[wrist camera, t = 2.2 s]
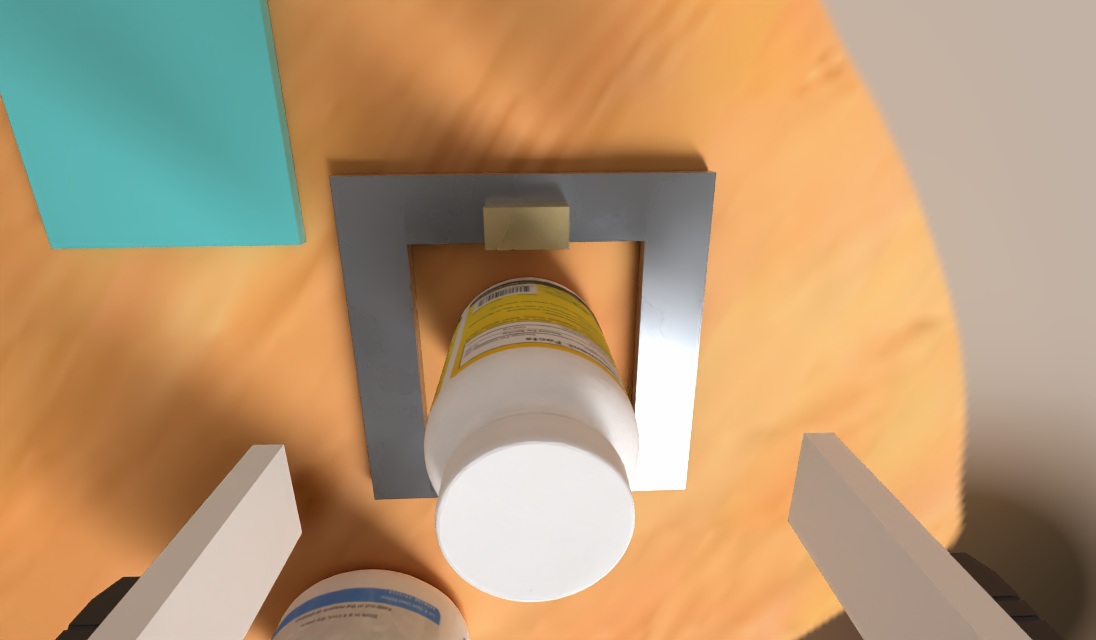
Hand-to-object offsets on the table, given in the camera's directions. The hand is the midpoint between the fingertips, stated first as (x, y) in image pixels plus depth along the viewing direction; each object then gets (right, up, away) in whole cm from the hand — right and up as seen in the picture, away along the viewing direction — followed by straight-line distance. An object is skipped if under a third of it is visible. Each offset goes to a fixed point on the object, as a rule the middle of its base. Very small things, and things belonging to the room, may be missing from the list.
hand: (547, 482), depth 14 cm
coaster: (-14, +11, +5) cm, 19 cm away
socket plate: (-1, +3, +9) cm, 9 cm away
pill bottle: (-1, +3, +9) cm, 10 cm away
